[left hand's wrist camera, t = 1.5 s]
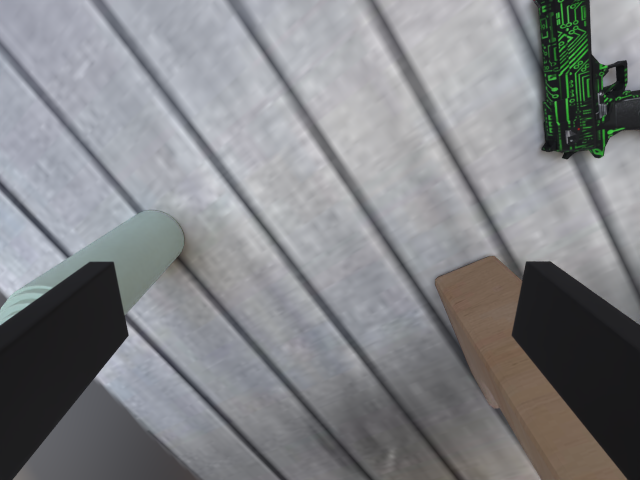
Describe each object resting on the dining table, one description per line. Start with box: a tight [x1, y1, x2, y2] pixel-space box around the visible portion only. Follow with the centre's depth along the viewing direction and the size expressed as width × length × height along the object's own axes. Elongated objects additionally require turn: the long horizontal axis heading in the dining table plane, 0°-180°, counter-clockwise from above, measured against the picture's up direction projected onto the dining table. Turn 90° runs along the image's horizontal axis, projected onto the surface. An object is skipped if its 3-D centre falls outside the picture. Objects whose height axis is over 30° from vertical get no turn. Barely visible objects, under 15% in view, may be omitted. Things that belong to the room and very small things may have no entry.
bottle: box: [0, 210, 184, 325], centre depth 33 cm, size 6×6×24 cm
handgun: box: [533, 0, 640, 159], centre depth 37 cm, size 16×3×15 cm
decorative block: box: [435, 256, 627, 480], centre depth 33 cm, size 8×15×30 cm, turn 25°
